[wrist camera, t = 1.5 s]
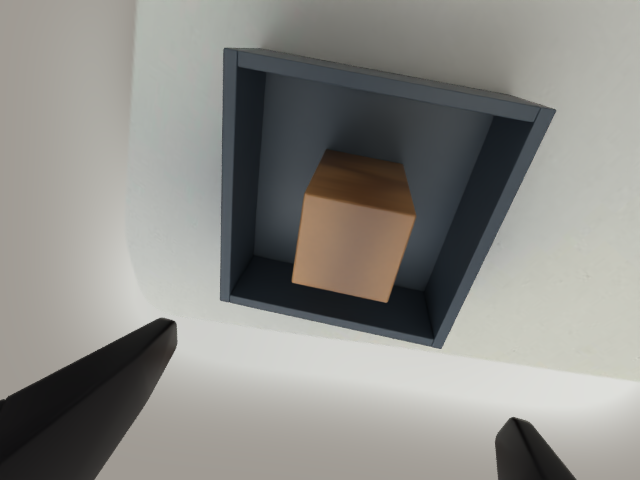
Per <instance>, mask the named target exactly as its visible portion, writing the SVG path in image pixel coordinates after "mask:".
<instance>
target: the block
mask: <svg viewBox="0 0 640 480" xmlns="http://www.w3.org/2000/svg"><path fill="white" fill-rule="evenodd" d="M415 220H416V212H415V208H414V205H413V201H412V197H411V193H410V189H409V185H408V181H407V177H406V174H405V170H404V166H403V164H400V163H395V162H390V161H384V160H379V159H374V158H369V157H364V156H359V155H354V154H349V153H344V152H339V151H334V150H329V149H326V150H325V152H324V154H323V156H322V158H321V160H320V162H319V164H318V166H317V168H316V171H315V173H314V175H313V177H312V179H311V181H310V183H309V185H308V187H307V189H306V191H305V193H304V198H303V204H302V211H301V218H300V225H299V232H298V239H297V246H296V253H295V260H294V267H293V273H292V283H296V284H301V285H305V286H310V287H315V288H319V289H324V290H329V291H333V292H338V293H343V294H347V295H352V296H357V297H361V298H366V299H371V300H375V301H380V302H385V303H387V302H388V300H389V297H390V294H391V291H392V288H393V285H394V282H395V279H396V276H397V273H398V270H399V267H400V264H401V261H402V258H403V255H404V252H405V249H406V247H407V244H408V241H409V238H410V235H411V232H412V229H413V226H414V223H415Z"/></svg>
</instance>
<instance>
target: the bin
mask: <svg viewBox="0 0 640 480" xmlns="http://www.w3.org/2000/svg"><path fill="white" fill-rule="evenodd" d="M555 112H556V110H555V109H552V108H549V107H546V106H543V105H540V104H537V103H533V102H530V101H527V100H524V99H521V98H518V97H515V96H512V95H507V94H501V93H496V92H491V91H485V90H480V89H474V88H469V87H464V86H458V85H453V84H448V83H442V82H437V81H432V80H426V79H421V78H415V77H410V76H405V75H399V74H394V73H389V72H383V71H378V70H372V69H367V68H362V67H356V66H351V65H346V64H340V63H335V62H330V61H324V60H319V59H313V58H308V57H303V56H297V55H292V54H287V53H281V52H276V51H271V50H265V49H260V48H224V53H223V125H222V197H221V269H220V300H221V301H225V302H230V303H234V304H238V305H243V306H247V307H252V308H257V309H261V310H266V311H270V312H275V313H279V314H284V315H288V316H293V317H298V318H302V319H307V320H311V321H316V322H320V323H325V324H330V325H334V326H339V327H343V328H348V329H352V330H357V331H362V332H366V333H371V334H375V335H380V336H384V337H389V338H394V339H398V340H403V341H407V342H412V343H416V344H421V345H426V346H431V347H434V348H439V349H441V348H442V346H443V344H444V342H445V340H446V338H447V336H448V334H449V332H450V330H451V328H452V326H453V324H454V322H455V319H456V317H457V315H458V313H459V311H460V309H461V307H462V305H463V303H464V301H465V299H466V297H467V295H468V293H469V290H470V288H471V286H472V284H473V282H474V280H475V278H476V276H477V274H478V272H479V270H480V268H481V266H482V263H483V261H484V259H485V257H486V255H487V253H488V251H489V249H490V247H491V245H492V243H493V241H494V239H495V237H496V234H497V232H498V230H499V228H500V226H501V224H502V222H503V220H504V218H505V216H506V214H507V212H508V210H509V208H510V205H511V203H512V201H513V199H514V197H515V195H516V193H517V191H518V189H519V187H520V185H521V183H522V181H523V179H524V176H525V174H526V172H527V170H528V168H529V166H530V164H531V162H532V160H533V158H534V156H535V154H536V152H537V149H538V147H539V145H540V143H541V141H542V139H543V137H544V135H545V133H546V131H547V129H548V127H549V125H550V123H551V120H552V118H553V116H554V114H555ZM326 149H329V150H334V151H339V152H344V153H349V154H354V155H359V156H364V157H369V158H374V159H379V160H384V161H390V162H395V163H400V164H403V166H404V170H405V174H406V177H407V181H408V185H409V189H410V193H411V197H412V201H413V205H414V208H415V212H416V220H415V223H414V226H413V229H412V232H411V235H410V238H409V241H408V244H407V247H406V249H405V252H404V255H403V258H402V261H401V264H400V267H399V270H398V273H397V276H396V279H395V282H394V285H393V288H392V291H391V294H390V297H389V300H388V302H387V303H385V302H380V301H375V300H371V299H366V298H361V297H357V296H352V295H347V294H343V293H338V292H333V291H329V290H324V289H319V288H315V287H310V286H305V285H301V284H296V283H292V273H293V267H294V260H295V253H296V246H297V239H298V232H299V225H300V218H301V211H302V204H303V198H304V193H305V191H306V189H307V187H308V185H309V183H310V181H311V179H312V177H313V175H314V173H315V171H316V168H317V166H318V164H319V162H320V160H321V158H322V156H323V154H324V152H325V150H326Z"/></svg>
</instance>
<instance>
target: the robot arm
mask: <svg viewBox="0 0 640 480" xmlns="http://www.w3.org/2000/svg"><path fill="white" fill-rule="evenodd" d="M176 346H177V325H176V322H175V321H173V320H170V319H166V318H159V319H156V320H155V321H153V322H151V323H149V324H147V325H145V326H143V327H141V328H139V329H137V330H135V331H133V332H131V333H129V334H128V335H126V336H124V337H122V338H120V339H118V340H116V341H114V342H112V343H110V344H108V345H106V346H105V347H103V348H101V349H99V350H97V351H95V352H93V353H91V354H89V355H87V356H85V357H83V358H81V359H79V360H77V361H76V362H74V363H72V364H70V365H68V366H66V367H64V368H62V369H60V370H58V371H56V372H54V373H53V374H51V375H49V376H47V377H45V378H43V379H41V380H39V381H37V382H35V383H33V384H31V385H29V386H28V387H26V388H24V389H22V390H20V391H18V392H16V393H14V394H12V395H10V396H8V397H7V398H6V400H5V399H3V400H0V480H94V479H95V478H96V476H97V475H98V474H99V472H100V471H101V469H102V468H103V466H104V465H105V463H106V462H107V460H108V459H109V457H110V456H111V454H112V453H113V451H114V450H115V449H116V447H117V446H118V444H119V443H120V441H121V440H122V438H123V437H124V435H125V434H126V432H127V431H128V429H129V428H130V426H131V425H132V423H133V422H134V420H135V419H136V417H137V416H138V415H139V413H140V412H141V410H142V409H143V407H144V406H145V404H146V402H147V401H148V399H149V397H150V395H151V394H152V392H153V390H154V388H155V386H156V384H157V382H158V381H159V379H160V377H161V375H162V373H163V372H164V370H165V368H166V366H167V364H168V362H169V360H170V359H171V357H172V355H173V353H174V351H175V349H176ZM495 447H496V460H497V472H498V480H576V478H575V477H574V476H573V475H572V473H571V472H570V471H569V470H568V468H567V467H566V466H565V465H564V464H563V462H562V461H561V460H560V459H559V457H558V456H557V455H556V454H555V452H554V451H553V450H552V449H551V447H550V446H549V445H548V444H547V442H546V441H545V440H544V439H543V438H542V436H541V435H540V434H539V433H538V431H537V430H536V429H535V428H534V426H533V425H532V424H531V423H530V422H528V421H526V420H522V419H518V418H515V417H512V418H510V419H509V420H508V421H507V422H506V423H505V425H504V426H503V427H502V428H501V430H500V431H499V432H498V434H497V436H496V440H495Z"/></svg>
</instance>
